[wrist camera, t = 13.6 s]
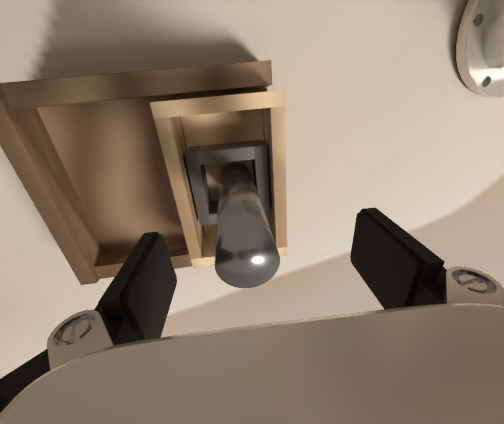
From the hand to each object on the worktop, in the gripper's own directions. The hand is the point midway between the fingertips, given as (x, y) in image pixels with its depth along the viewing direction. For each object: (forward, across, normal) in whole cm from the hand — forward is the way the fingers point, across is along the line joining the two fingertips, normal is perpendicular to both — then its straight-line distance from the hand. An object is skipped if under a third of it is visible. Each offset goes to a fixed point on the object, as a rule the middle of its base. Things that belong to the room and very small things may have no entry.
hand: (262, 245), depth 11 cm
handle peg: (+12, +1, 0) cm, 12 cm away
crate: (+13, +2, 0) cm, 13 cm away
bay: (+14, +8, 0) cm, 16 cm away
